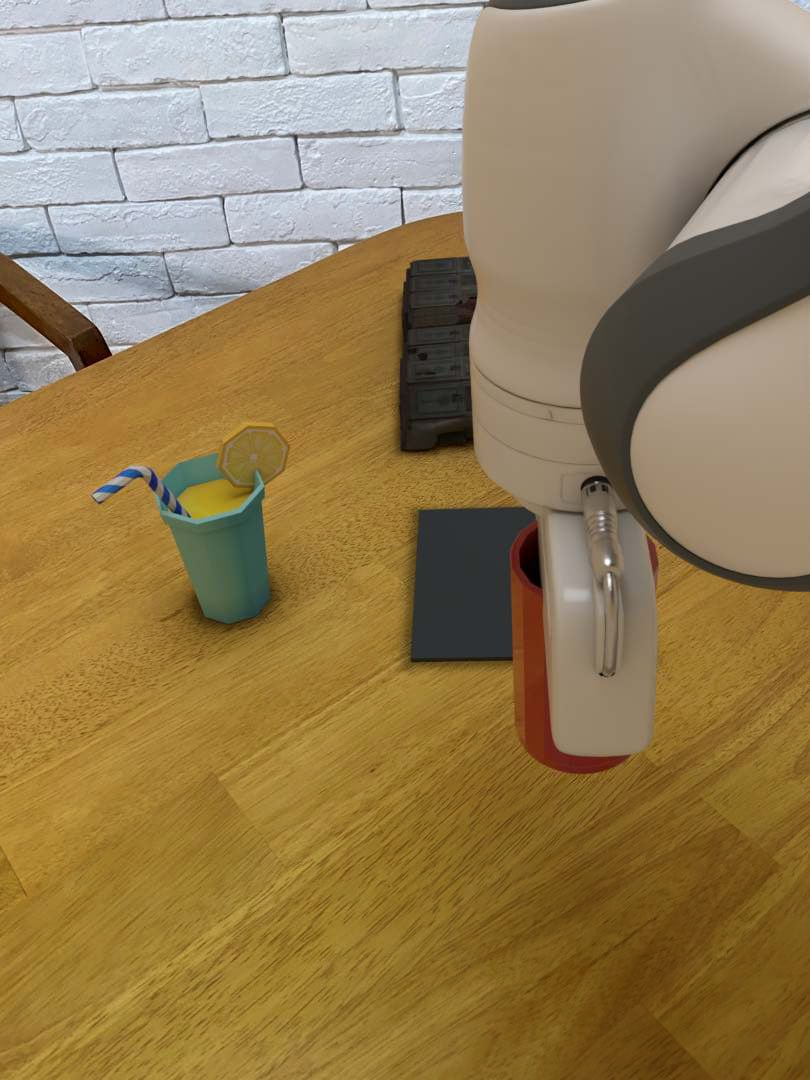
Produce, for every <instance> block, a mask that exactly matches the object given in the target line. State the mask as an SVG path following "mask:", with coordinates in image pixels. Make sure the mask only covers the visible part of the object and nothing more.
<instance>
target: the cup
mask: <svg viewBox="0 0 810 1080" xmlns="http://www.w3.org/2000/svg"><path fill="white" fill-rule="evenodd" d="M290 449H291V445H290V444H289V442H288V441H287V440H286V438H285V437H284V436H283V434H282V433H281V431H279V429H278V427H276V425H275V424H274V423H273V422H263V421H262V422H261V421H260V422H259V421H244V422H242V423H241V424H240V425H238V426H237V427H236V428H234V429H233V430H232V431H230V432H229V433H228V434H226V435H225V436H224V437H222V438H221V439H220V444H219V449H218V452H215V453H211V454H208V455H204V456H199V457H196V458H191V459H187V460H184V461H179V462H178V463H177V464H175V466H173V468H172V469H170V470H169V471H168V472H167V473H166V474H165V475H164V476H163V477H162V478H160V477H159V476H158V475H157V474H156V473H155V471H154V470H153V469H152V468H150V467H147V466H145V465H131V464H130V465H129V466H128V467H126V468H124V469H123V470H122V471H121V472H120V473H118V474H117V475H115V476H114V477H113V478H111V479H110V480H109V481H107V482H106V483H105V484H104V485H102V486H100V487H99V488H98V489H96V490H95V491H94V492H93V493H91V494H90V496H91V498H92V500H94V501H95V502H96V503H97V505H99V506H100V505H102V504H103V503H104V502H106V501H107V500H109V499H111V497H112V496H115V494H117V493H119V491H121V490H123V489H124V488H125V487H127V486H128V485H129V484H132V482H133V481H135V480H136V479H138V478H139V479H140V478H141V479H142V480H143V481H144V482H145V483H146V484H147V485H148V487H149V488H150V489H151V491H153V495H154V499H155V501H156V505H157V508H158V509H157V510H158V512H159V516H160V517H161V520H162V521H163V524H164V525H166V526H168V527H169V529H170V532H171V534H172V537H173V539H174V541H175V545H176V548H177V550H178V551H179V554H180V557H181V559H182V562H183V566H184V568H185V569H186V572H187V575H188V577H189V580H190V582H191V585H192V588H193V590H194V593H195V595H196V598H197V600H198V603H199V605H200V608H201V610H202V613H203V615H204V617H205V618H208V619H211V620H214V621H217V622H221V623H224V624H226V625H230V624H234V623H237V622H241V621H244V620H247V619H251V618H254V617H257V615H258V614H259V613H260V612H261V611H262V609H263V608H264V607H265V606H266V605H267V603H268V602H269V601H270V600H271V590H270V589H271V588H270V579H269V569H268V568H269V567H268V558H267V557H268V556H267V545H266V536H265V533H266V532H265V522H264V512H263V500H264V499H265V498H266V493H265V492H266V491H265V490H266V489H265V488H266V485H268V484H269V483H270V482H272V481H273V480H274V479H276V478H277V477H279V476H280V475H281V474H283V473H284V472H285V469H286V466H287V461H288V457H289V453H290Z"/></svg>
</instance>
